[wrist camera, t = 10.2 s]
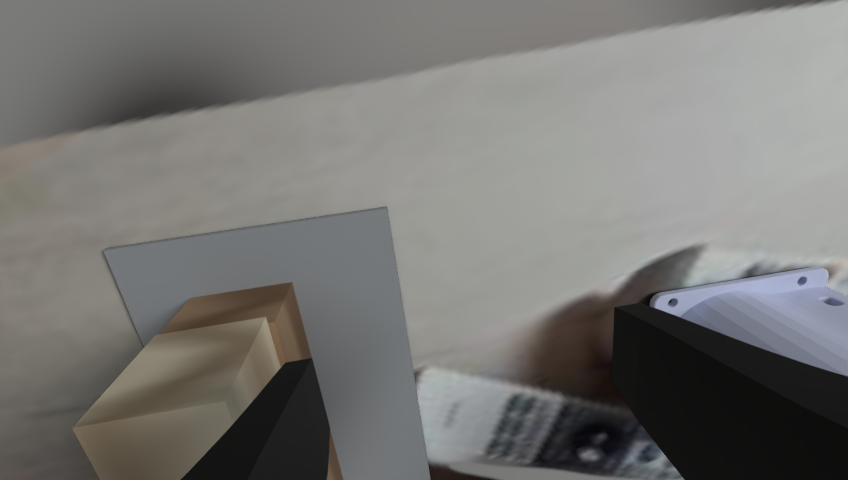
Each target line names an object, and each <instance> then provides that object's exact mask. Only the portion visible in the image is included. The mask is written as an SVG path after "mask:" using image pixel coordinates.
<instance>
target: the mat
mask: <svg viewBox="0 0 848 480" xmlns="http://www.w3.org/2000/svg"><path fill="white" fill-rule="evenodd" d="M103 252H104V254H105V256H106V259H107V261H108V264H109V266H110V268H111V271H112V273H113V275H114V278H115V280H116V283H117V285H118V287H119V290H120V292H121V294H122V297H123V299H124V302H125V304H126V306H127V309H128V311H129V313H130V316H131V318H132V321H133V323H134V325H135V328H136V330H137V332H138V335H139V337H140V339H141V342H142V344H143V347H145V346H146V345H147V344H148V343H149V342H150V341H151V340H152V338H153V337H154V336H155V335H158V334H159V333H160V332H161V331H162V330H163V328H164V327H165V326H166V325H167V324H168V323H169V322H170V321H171V319H172V318H173V317H174V316H175V315H176V314H177V313H178V312H179V310H180V309H181V308H182V307H183V306H184V305H185V304H186V303H187V301H188V300H189V299H190V298H193V297H199V296H206V295H212V294H219V293H225V292H231V291H238V290H244V289H250V288H257V287H263V286H270V285H276V284H282V283H289V282H292V283H293V287H294V291H295V295H296V299H297V302H298V306H299V310H300V314H301V318H302V322H303V326H304V330H305V333H306V337H307V341H308V345H309V349H310V353H311V357H312V359H313V363H314V367H315V371H316V375H317V379H318V382H319V386H320V390H321V394H322V398H323V402H324V406H325V410H326V413H327V417H328V421H329V425H330V430H331V434H332V438H333V442H334V446H335V449H336V453H337V457H338V461H339V465H340V469H341V473H342V476H343V480H431V479H430V473H429V466H428V460H427V454H426V448H425V441H424V435H423V429H422V423H421V416H420V410H419V404H418V398H417V391H416V385H415V379H414V372H413V366H412V360H411V354H410V347H409V341H408V335H407V329H406V322H405V316H404V310H403V304H402V297H401V291H400V285H399V278H398V272H397V266H396V260H395V253H394V247H393V241H392V235H391V228H390V222H389V216H388V209H387V207H380V208H373V209H367V210H360V211H353V212H346V213H340V214H333V215H326V216H319V217H313V218H306V219H299V220H292V221H286V222H279V223H272V224H265V225H259V226H252V227H245V228H238V229H232V230H225V231H218V232H211V233H205V234H198V235H191V236H184V237H178V238H171V239H164V240H157V241H151V242H144V243H137V244H130V245H124V246H117V247H110V248H106V249H105V250H103Z"/></svg>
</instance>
